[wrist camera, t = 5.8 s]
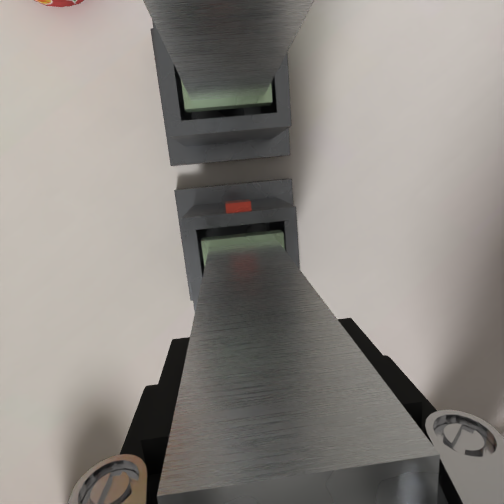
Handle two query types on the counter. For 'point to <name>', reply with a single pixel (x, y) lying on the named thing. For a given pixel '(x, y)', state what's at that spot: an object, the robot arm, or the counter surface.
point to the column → (284, 396)
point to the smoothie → (59, 2)
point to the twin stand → (225, 76)
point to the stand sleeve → (233, 219)
